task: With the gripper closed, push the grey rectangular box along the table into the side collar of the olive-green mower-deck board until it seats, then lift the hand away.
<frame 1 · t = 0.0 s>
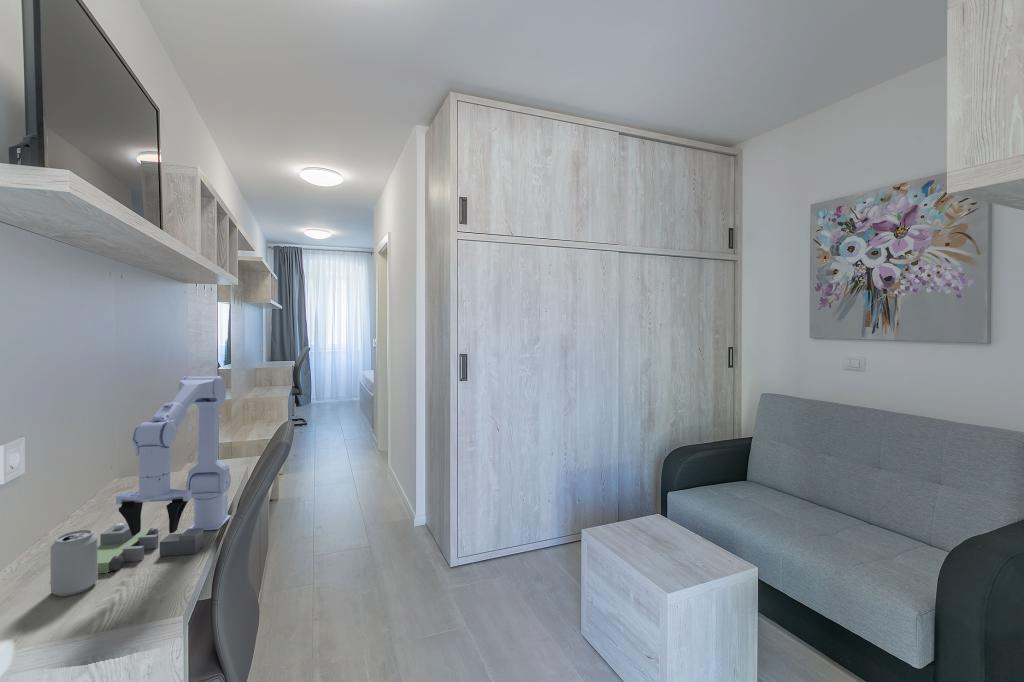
hand: (154, 532, 107), 10 cm above the table, tool pointing down, fingers open, 7 cm apart
can: (74, 589, 102), on the table
grey rectangular box: (181, 541, 119), point 2 cm above the table, slide at 7.0 cm
deck: (111, 556, 116), on the table
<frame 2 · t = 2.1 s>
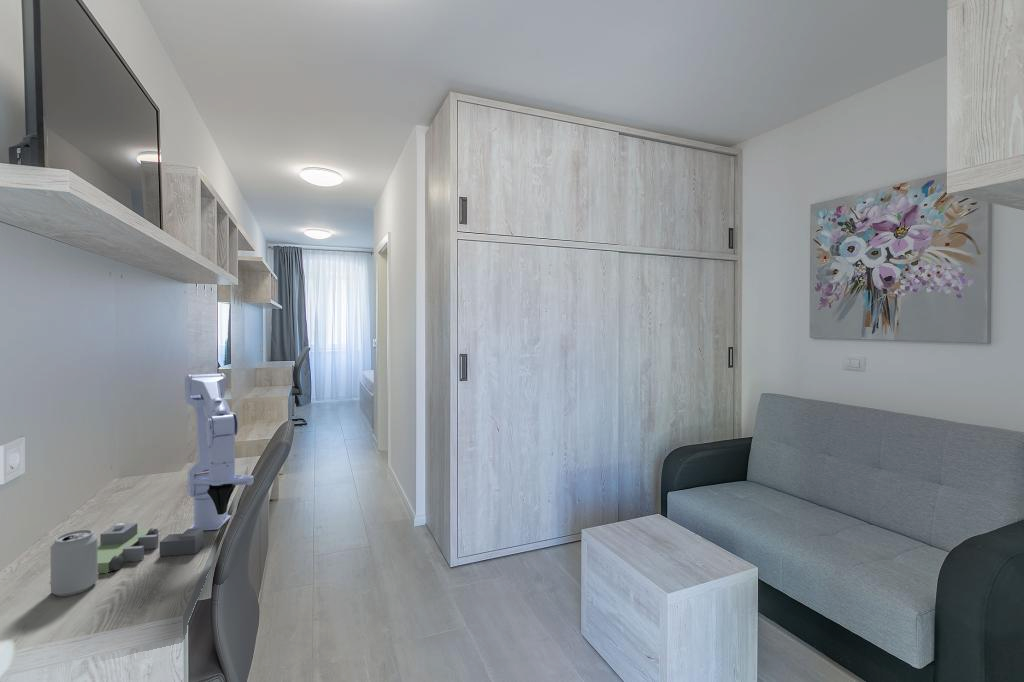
hand: (221, 513, 121), 9 cm above the table, tool pointing down, fingers closed
nothing on the table moved.
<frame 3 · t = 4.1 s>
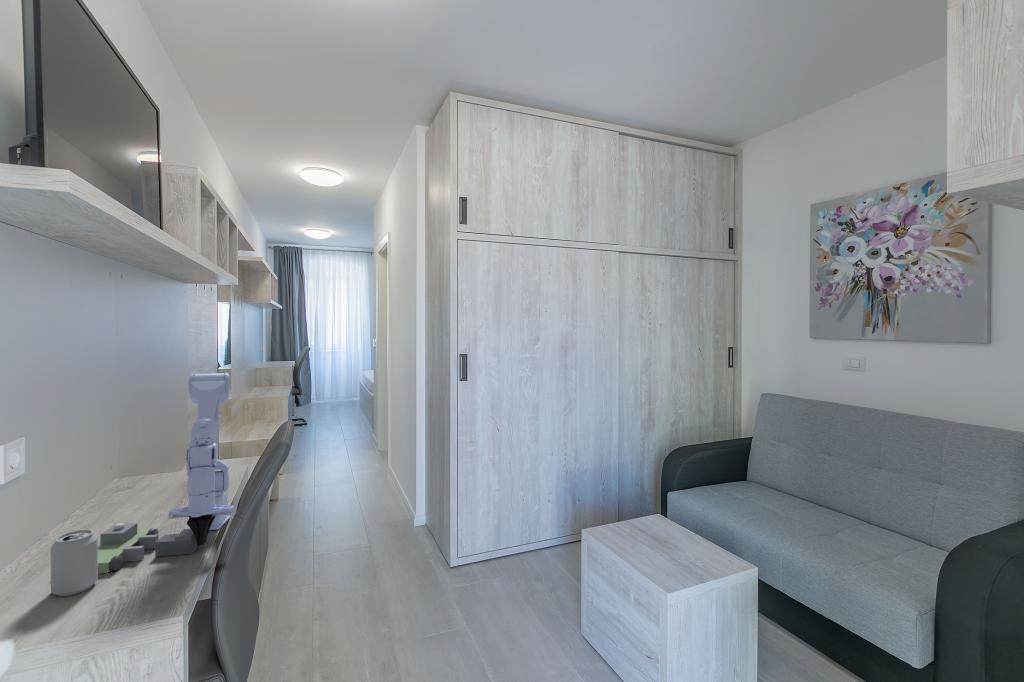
hand: (201, 543, 120), 2 cm above the table, tool pointing down, fingers closed
grey rectangular box: (177, 542, 119), point 2 cm above the table, slide at 6.0 cm, touching gripper
everything else where it was.
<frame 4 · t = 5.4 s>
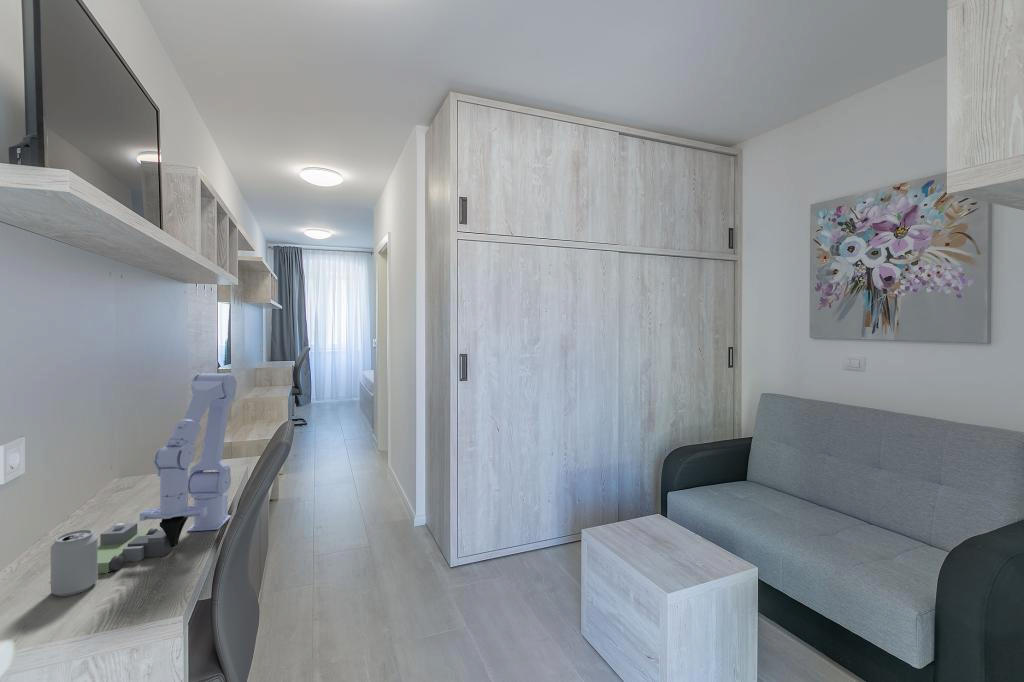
hand: (174, 545, 119), 2 cm above the table, tool pointing down, fingers closed
grey rectangular box: (151, 543, 118), point 2 cm above the table, slide at 0.0 cm, touching deck, gripper
everything else where it was.
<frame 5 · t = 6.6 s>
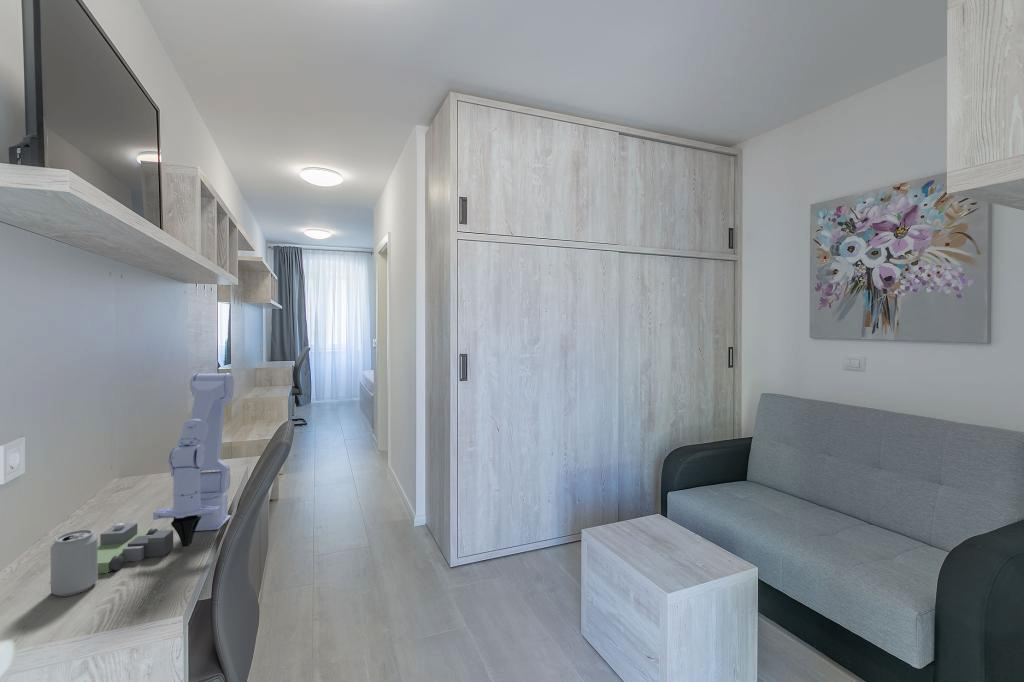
hand: (187, 544, 119), 2 cm above the table, tool pointing down, fingers closed
grey rectangular box: (151, 543, 118), point 2 cm above the table, slide at 0.0 cm, touching deck
everything else where it was.
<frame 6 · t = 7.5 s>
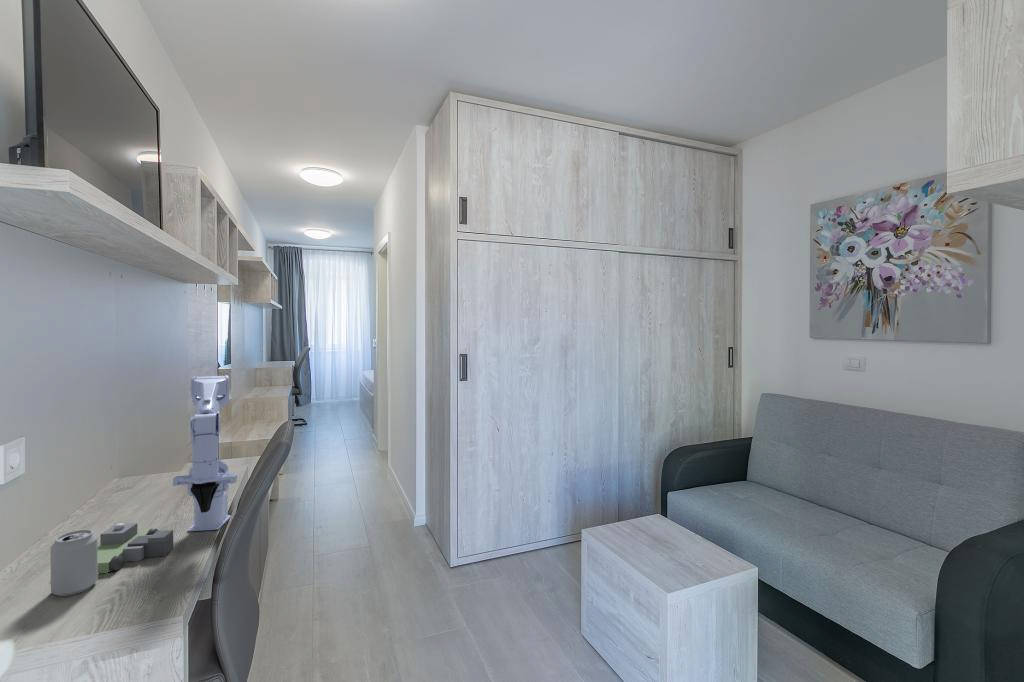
hand: (205, 511, 122), 9 cm above the table, tool pointing down, fingers closed
nothing on the table moved.
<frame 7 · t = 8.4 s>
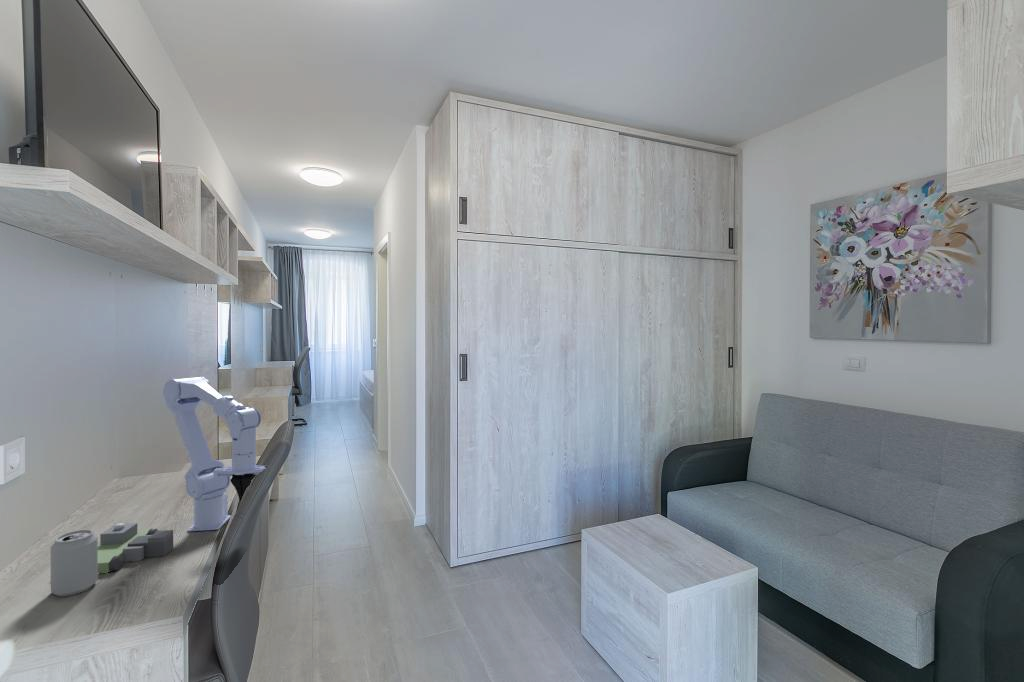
hand: (243, 501, 129), 9 cm above the table, tool pointing down, fingers closed
nothing on the table moved.
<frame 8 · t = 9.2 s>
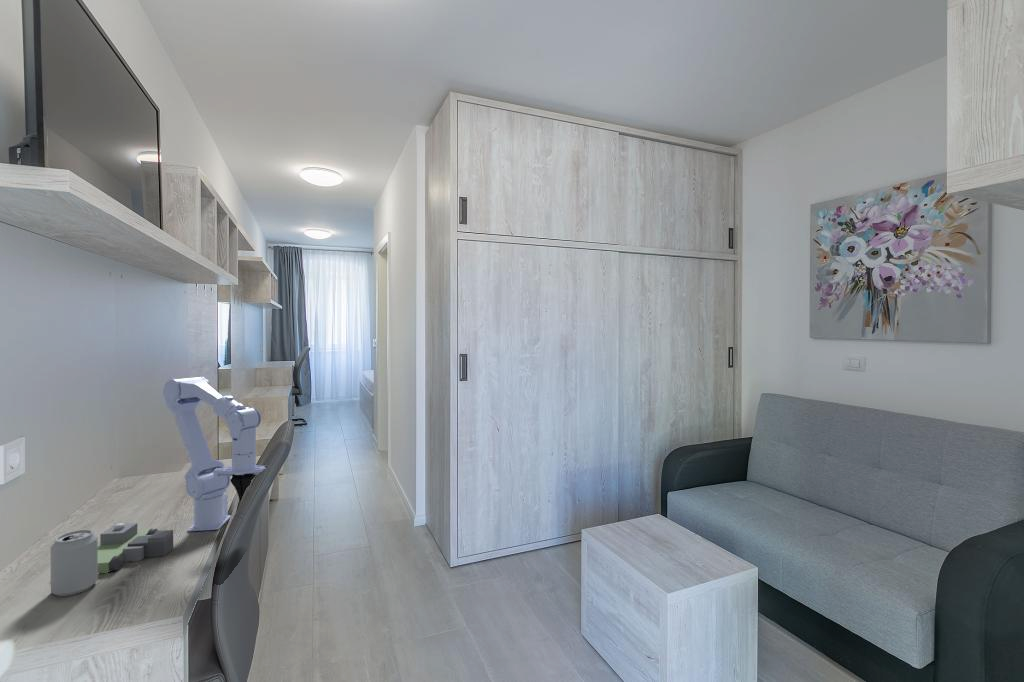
hand: (243, 501, 129), 9 cm above the table, tool pointing down, fingers closed
nothing on the table moved.
at the end: grey rectangular box slide at 0.0 cm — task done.
